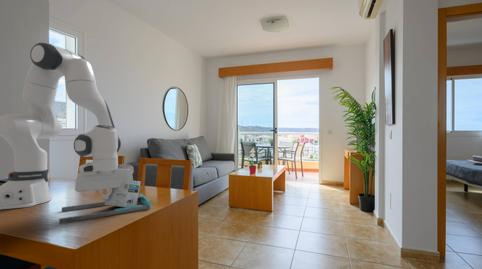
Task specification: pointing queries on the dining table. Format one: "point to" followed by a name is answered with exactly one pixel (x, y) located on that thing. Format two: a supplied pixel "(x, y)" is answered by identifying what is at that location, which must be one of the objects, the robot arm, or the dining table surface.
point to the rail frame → (101, 214)
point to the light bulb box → (124, 194)
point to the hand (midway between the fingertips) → (105, 199)
